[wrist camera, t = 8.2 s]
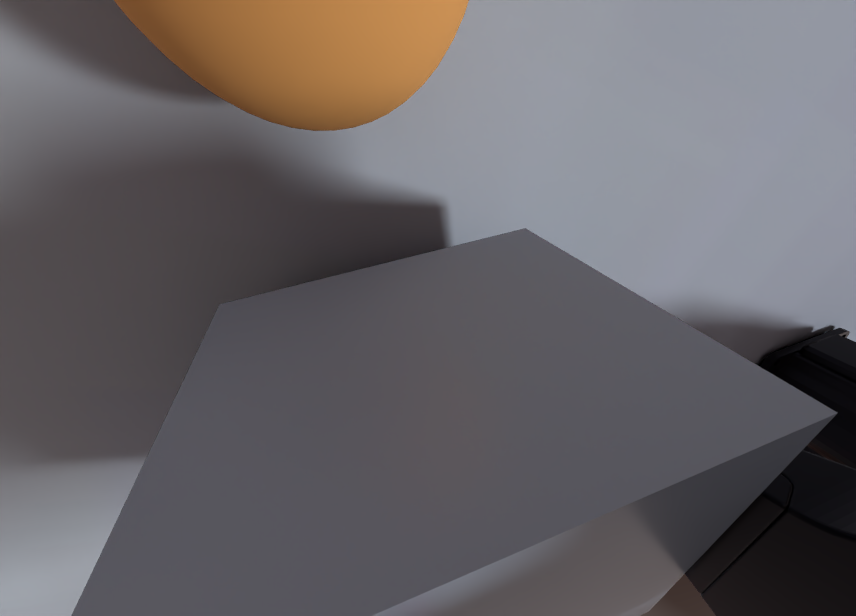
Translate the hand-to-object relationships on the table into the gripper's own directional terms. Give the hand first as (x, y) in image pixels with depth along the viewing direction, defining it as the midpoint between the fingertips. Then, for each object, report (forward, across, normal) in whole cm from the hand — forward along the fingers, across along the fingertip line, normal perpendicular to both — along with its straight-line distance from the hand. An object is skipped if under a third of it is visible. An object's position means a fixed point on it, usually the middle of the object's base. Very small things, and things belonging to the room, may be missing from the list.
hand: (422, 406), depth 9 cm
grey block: (+2, 0, 0) cm, 2 cm away
